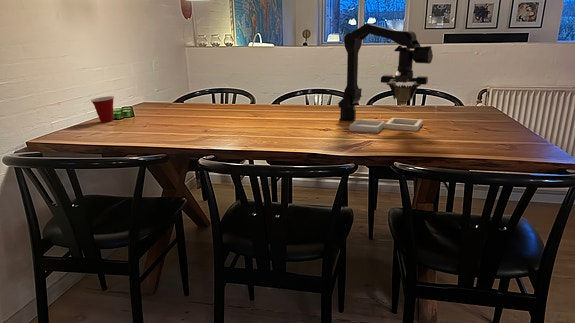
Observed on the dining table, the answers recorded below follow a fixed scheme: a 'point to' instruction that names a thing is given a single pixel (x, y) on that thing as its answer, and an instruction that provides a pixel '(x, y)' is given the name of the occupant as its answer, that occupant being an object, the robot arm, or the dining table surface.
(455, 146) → the dining table surface
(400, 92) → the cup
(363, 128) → the grey tray
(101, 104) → the plastic cup
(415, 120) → the white flat square frame
